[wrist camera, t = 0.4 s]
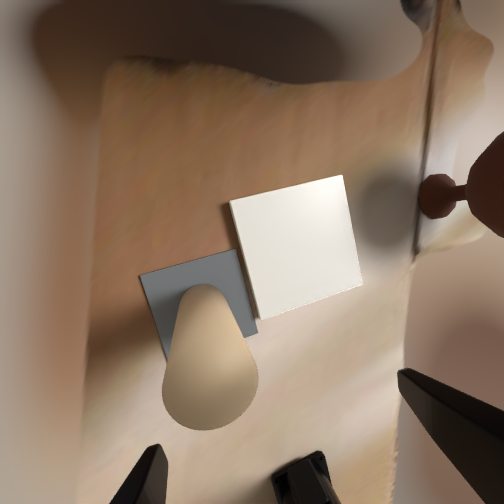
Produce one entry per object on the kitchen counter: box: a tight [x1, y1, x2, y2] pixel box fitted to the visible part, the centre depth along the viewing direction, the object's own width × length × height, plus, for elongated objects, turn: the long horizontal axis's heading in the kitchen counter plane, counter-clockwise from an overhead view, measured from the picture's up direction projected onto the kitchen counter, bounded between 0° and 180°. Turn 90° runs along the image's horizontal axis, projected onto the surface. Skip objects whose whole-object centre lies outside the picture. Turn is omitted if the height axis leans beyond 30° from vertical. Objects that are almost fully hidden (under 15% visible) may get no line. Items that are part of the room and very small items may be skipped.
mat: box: [140, 249, 258, 360], centre depth 22 cm, size 9×9×1 cm
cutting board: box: [229, 175, 363, 321], centre depth 24 cm, size 12×12×1 cm
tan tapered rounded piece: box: [162, 284, 258, 430], centre depth 17 cm, size 4×4×12 cm
